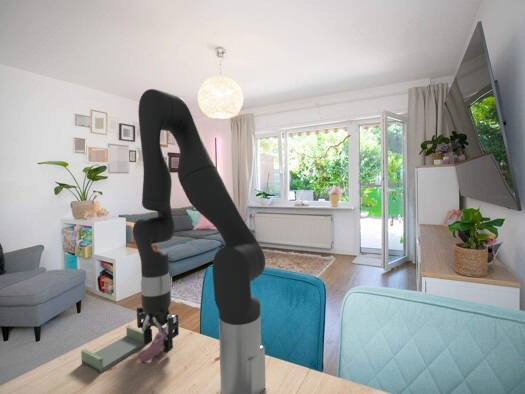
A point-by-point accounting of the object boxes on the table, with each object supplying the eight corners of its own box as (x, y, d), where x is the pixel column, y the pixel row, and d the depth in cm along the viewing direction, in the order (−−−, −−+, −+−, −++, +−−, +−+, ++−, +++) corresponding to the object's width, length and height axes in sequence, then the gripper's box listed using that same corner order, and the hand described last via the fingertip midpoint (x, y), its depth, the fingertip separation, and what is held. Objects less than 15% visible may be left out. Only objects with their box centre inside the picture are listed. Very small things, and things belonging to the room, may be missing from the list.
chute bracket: (146, 344, 79) (146, 332, 78) (100, 373, 67) (99, 359, 67) (129, 337, 82) (128, 326, 82) (81, 363, 70) (81, 350, 70)
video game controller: (152, 369, 70) (163, 346, 70) (136, 361, 70) (147, 338, 70) (167, 346, 80) (177, 326, 79) (154, 339, 80) (163, 319, 80)
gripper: (185, 289, 74) (186, 347, 75) (149, 280, 81) (151, 333, 82) (163, 299, 68) (165, 363, 68) (126, 289, 74) (129, 347, 75)
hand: (157, 347), depth 75 cm, fingers closed on video game controller, 7 cm apart
